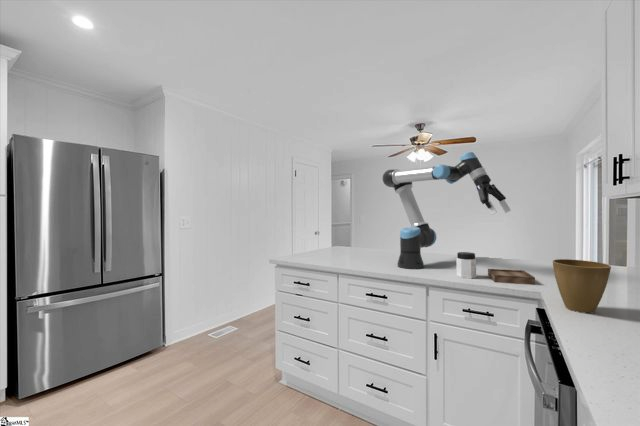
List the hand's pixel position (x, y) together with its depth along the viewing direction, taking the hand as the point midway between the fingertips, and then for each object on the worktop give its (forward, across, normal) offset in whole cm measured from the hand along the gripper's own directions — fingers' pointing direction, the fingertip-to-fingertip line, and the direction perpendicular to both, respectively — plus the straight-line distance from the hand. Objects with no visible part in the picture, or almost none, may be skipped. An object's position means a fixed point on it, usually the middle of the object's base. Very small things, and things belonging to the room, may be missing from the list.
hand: (501, 212), depth 152 cm
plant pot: (+47, -33, -21) cm, 61 cm away
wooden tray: (+31, -6, +10) cm, 33 cm away
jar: (+23, -18, +24) cm, 38 cm away
